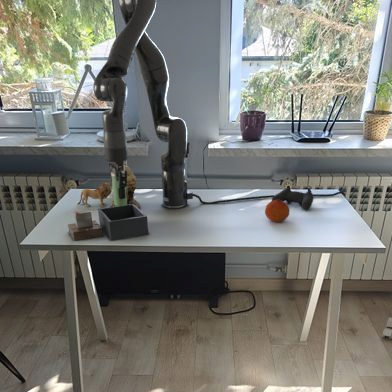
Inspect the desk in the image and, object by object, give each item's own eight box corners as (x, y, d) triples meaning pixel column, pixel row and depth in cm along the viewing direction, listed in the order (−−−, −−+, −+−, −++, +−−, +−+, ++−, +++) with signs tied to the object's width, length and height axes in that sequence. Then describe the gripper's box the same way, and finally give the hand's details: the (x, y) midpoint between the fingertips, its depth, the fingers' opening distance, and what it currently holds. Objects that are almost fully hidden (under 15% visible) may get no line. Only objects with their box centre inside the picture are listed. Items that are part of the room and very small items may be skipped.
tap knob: (91, 223, 179) (89, 209, 176) (93, 225, 177) (91, 211, 174) (76, 226, 177) (73, 211, 174) (77, 228, 175) (75, 213, 173)
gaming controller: (309, 216, 200) (319, 197, 203) (308, 206, 195) (318, 187, 198) (271, 209, 207) (281, 191, 210) (269, 199, 203) (279, 181, 206)
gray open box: (134, 220, 190) (133, 203, 187) (148, 234, 178) (147, 216, 175) (99, 226, 186) (97, 208, 182) (111, 240, 174) (109, 221, 170)
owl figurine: (115, 202, 210) (110, 159, 200) (142, 202, 209) (139, 159, 200) (105, 216, 195) (100, 171, 185) (135, 216, 194) (131, 171, 185)
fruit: (293, 221, 188) (295, 200, 183) (274, 226, 184) (276, 204, 179) (278, 215, 194) (280, 194, 190) (260, 219, 190) (261, 198, 186)
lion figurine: (113, 202, 209) (111, 180, 204) (112, 206, 205) (110, 184, 200) (78, 204, 208) (75, 182, 203) (76, 208, 204) (73, 185, 199)
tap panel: (95, 227, 184) (94, 219, 183) (102, 236, 177) (101, 227, 175) (68, 232, 181) (67, 223, 179) (74, 241, 174) (73, 232, 172)
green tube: (125, 201, 179) (122, 170, 173) (129, 205, 176) (126, 173, 170) (112, 203, 178) (109, 171, 172) (116, 207, 174) (113, 174, 168)
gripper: (132, 148, 162) (136, 200, 171) (120, 140, 173) (124, 190, 182) (110, 150, 159) (115, 203, 169) (98, 142, 170) (104, 192, 179)
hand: (120, 196), depth 175 cm, fingers closed on green tube, 4 cm apart
